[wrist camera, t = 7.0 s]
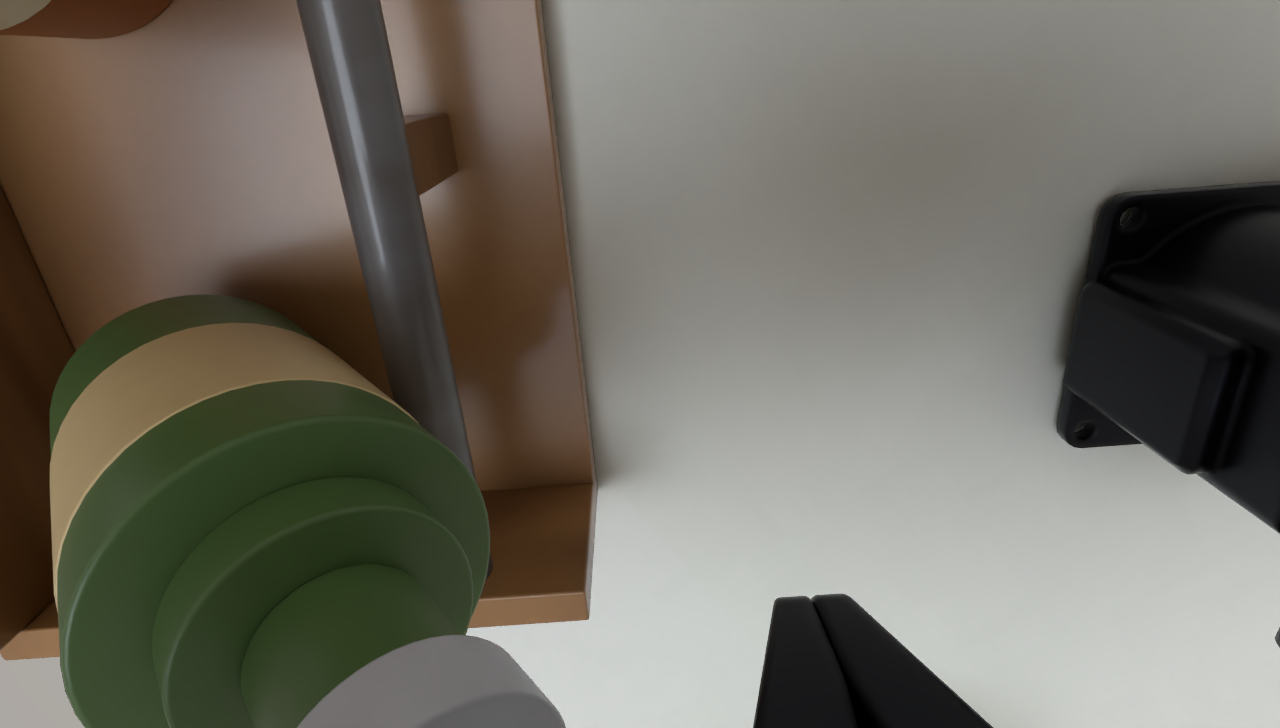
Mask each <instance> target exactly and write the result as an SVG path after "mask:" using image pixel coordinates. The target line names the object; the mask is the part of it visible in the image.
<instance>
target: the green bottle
mask: <svg viewBox="0 0 1280 728" xmlns="http://www.w3.org/2000/svg"><path fill="white" fill-rule="evenodd" d="M50 449H51V461H50V507H51V533H52V558H53V584H54V597H55V602H56V607H57V612H58V624H59V646H60V666H61V671H62V677H63V682H64V687H65V692H66V694H67V696H68V699H69V701H70V703H71V706H72V708H73V710H74V712H75V715H76V716H77V717H78V719H79V720H80V721H81V723H82V724H83V726H84V727H85V728H565V724H564V721H563V719H562V717H561V715H560V713H559V711H558V710H557V709H556V708H555V706H554V705H553V704H552V703H551V702H550V700H549V699H548V698H547V697H546V696H545V695H544V694H543V692H542V691H541V690H540V689H539V688H538V687H537V686H536V684H535V683H534V682H533V681H532V680H531V679H530V678H529V676H528V675H527V674H526V673H525V672H524V671H523V670H522V668H521V667H520V666H519V665H518V664H517V663H516V662H515V660H514V659H513V658H512V657H511V656H510V655H509V654H508V653H507V652H506V651H505V650H504V649H502V648H501V647H500V646H498V645H496V644H494V643H492V642H491V641H488V640H485V639H481V638H478V637H474V636H466V633H467V629H468V626H469V622H470V619H471V617H472V615H473V613H474V611H475V609H476V606H477V604H478V601H479V598H480V596H481V593H482V590H483V586H484V583H485V579H486V575H487V570H488V563H489V557H490V528H489V520H488V514H487V510H486V506H485V503H484V499H483V496H482V494H481V492H480V489H479V487H478V485H477V483H476V481H475V479H474V477H473V476H472V474H471V473H470V471H469V470H468V468H467V467H466V465H465V464H464V463H463V462H462V461H461V460H460V459H459V458H458V457H457V456H456V455H455V453H454V452H453V451H452V450H450V449H449V448H448V447H447V446H446V445H444V444H443V443H442V442H441V441H439V440H438V439H437V438H436V437H434V436H433V435H432V434H431V433H430V432H428V431H427V430H426V429H425V428H423V427H422V426H421V425H420V424H419V423H418V422H417V421H416V420H415V419H414V418H413V417H412V416H411V415H410V414H409V413H408V412H407V411H405V410H404V409H403V408H402V407H400V406H399V405H398V404H397V403H395V402H394V401H393V400H392V399H390V398H389V397H388V396H387V395H386V394H384V393H383V392H382V391H381V390H379V389H378V388H377V387H376V386H374V385H373V384H372V383H371V382H369V381H368V380H367V379H366V378H364V377H363V376H362V375H361V374H359V373H358V372H357V371H356V370H354V369H353V368H352V367H351V366H350V365H348V364H347V363H346V362H345V361H343V360H342V359H341V358H340V357H338V356H337V355H336V354H334V353H333V352H332V351H330V350H329V349H328V348H326V347H325V346H323V345H321V344H320V343H319V342H317V341H316V340H315V339H314V338H313V337H311V336H310V335H309V334H308V333H306V332H305V331H304V330H303V329H301V328H300V327H299V326H298V325H296V324H295V323H294V322H292V321H291V320H290V319H288V318H287V317H285V316H283V315H282V314H280V313H278V312H277V311H275V310H273V309H270V308H268V307H266V306H263V305H261V304H259V303H255V302H252V301H248V300H245V299H241V298H236V297H230V296H224V295H208V294H202V295H184V296H178V297H172V298H166V299H162V300H159V301H155V302H152V303H148V304H145V305H143V306H140V307H138V308H135V309H133V310H130V311H128V312H126V313H124V314H122V315H121V316H119V317H117V318H115V319H113V320H111V321H110V322H108V323H107V324H106V325H104V326H103V327H101V328H100V329H99V330H97V331H96V332H95V333H93V334H92V335H91V336H90V337H89V338H88V339H87V340H86V341H85V342H84V343H83V344H82V345H81V346H80V347H79V348H78V349H77V351H76V352H75V353H74V354H73V356H72V357H71V358H70V359H69V361H68V362H67V364H66V366H65V367H64V369H63V371H62V373H61V374H60V376H59V378H58V381H57V384H56V386H55V389H54V392H53V395H52V400H51V406H50Z"/></svg>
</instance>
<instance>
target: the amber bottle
mask: <svg viewBox="0 0 1280 728" xmlns="http://www.w3.org/2000/svg"><path fill="white" fill-rule="evenodd" d="M170 2H171V0H0V35H16V36H36V37H56V38H76V39H102V38H111V37H115V36H119V35H123V34H127V33H129V32H131V31H133V30H136V29H138V28H140V27H142V26H144V25H145V24H146V23H148V22H149V21H151V20H152V19H154V18H155V17H156V16H157V15H158V14H159V13H160V12H162V11H163V10H164V9H165V8H166V7H167V6H168V4H169V3H170Z"/></svg>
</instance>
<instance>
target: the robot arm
mask: <svg viewBox="0 0 1280 728" xmlns="http://www.w3.org/2000/svg"><path fill="white" fill-rule="evenodd" d="M1129 208H1131V215H1130V218H1129V220H1127V221H1126V222H1125V223H1124V224H1122V225H1120V218H1121V216H1122V214H1123V213H1124V212H1125V211H1126V210H1127V209H1129ZM1063 382H1064V384H1065V386H1064V392H1063V397H1062V402H1061V407H1060V412H1059V417H1058V422H1057V432H1058V434H1059V435H1060V437H1061V438H1063V439H1064V440H1065V441H1066V442H1067V443H1068V444H1070V445H1072V446H1073V447H1077V448H1088V447H1102V446H1116V445H1130V444H1144V445H1146V446H1147V447H1148V448H1150V449H1151V450H1152V451H1154V452H1155V453H1157V454H1158V455H1159V456H1161V457H1162V458H1163V459H1165V460H1166V461H1167V462H1169V463H1170V464H1172V465H1173V466H1174V467H1176V468H1177V469H1178V470H1180V471H1181V472H1183V473H1186V474H1197V475H1199V476H1200V477H1201V478H1203V479H1204V480H1206V481H1207V482H1208V483H1210V484H1211V485H1213V486H1214V487H1215V488H1217V489H1218V490H1220V491H1221V492H1222V493H1224V494H1225V495H1227V496H1228V497H1229V498H1231V499H1232V500H1234V501H1235V502H1236V503H1238V504H1239V505H1241V506H1242V507H1243V508H1245V509H1246V510H1248V511H1249V512H1250V513H1252V514H1253V515H1254V516H1256V517H1257V518H1259V519H1260V520H1261V521H1263V522H1264V523H1266V524H1267V525H1268V526H1270V527H1271V528H1273V529H1274V530H1275V531H1277V532H1278V533H1280V181H1272V182H1259V183H1246V184H1233V185H1220V186H1206V187H1193V188H1180V189H1167V190H1154V191H1141V192H1128V193H1122V194H1118V195H1115V196H1114V197H1112V198H1111V199H1109V200H1108V201H1107V202H1106V203H1105V204H1104V205H1103V207H1102V208H1101V210H1100V213H1099V216H1098V220H1097V225H1096V230H1095V235H1094V240H1093V245H1092V250H1091V255H1090V260H1089V265H1088V270H1087V275H1086V280H1085V285H1084V288H1083V290H1082V291H1081V293H1080V297H1079V302H1078V308H1077V313H1076V318H1075V323H1074V328H1073V333H1072V338H1071V343H1070V348H1069V353H1068V358H1067V364H1066V369H1065V374H1064V379H1063ZM1083 423H1086V424H1085V426H1084V428H1082V429H1081V430H1080V431H1077V432H1075V431H1076V429H1077V427H1079V426H1080V425H1081V424H1083ZM1275 640H1276V642H1277V644H1278V646H1279V647H1280V628H1279V630H1278V632H1277V634H1276V637H1275ZM753 728H993V727H992V726H991V725H990V724H989V723H987V722H986V721H985V720H984V719H983V718H982V717H981V716H980V715H979V714H978V713H977V712H975V711H974V710H973V709H972V708H971V707H970V706H969V705H968V704H967V703H966V702H964V701H963V700H962V699H961V698H960V697H959V696H958V695H957V694H956V693H955V692H954V691H952V690H951V689H950V688H949V687H948V686H947V685H946V684H945V683H944V682H943V681H942V680H940V679H939V678H938V677H937V676H936V675H935V674H934V673H933V672H932V671H931V670H929V669H928V668H927V667H926V666H925V665H924V664H923V663H922V662H921V661H920V660H919V659H917V658H916V657H915V656H914V655H913V654H912V653H911V652H910V651H909V650H908V649H907V648H905V647H904V646H903V645H902V644H901V643H900V642H899V641H898V640H897V639H896V638H895V637H893V636H892V635H891V634H890V633H889V632H888V631H887V630H886V629H885V628H884V627H882V626H881V625H880V624H879V623H878V622H877V621H876V620H875V619H874V618H873V617H872V616H870V615H869V614H868V613H867V612H866V611H865V610H864V609H863V608H862V607H861V606H860V605H858V604H857V603H856V602H855V601H854V600H853V599H852V598H851V597H849V596H847V595H845V594H828V595H816V596H814V597H813V598H812V599H811V600H810V599H809V598H808V597H806V596H796V597H781V598H777V599H776V600H775V602H774V606H773V612H772V618H771V624H770V630H769V636H768V642H767V648H766V654H765V660H764V666H763V672H762V678H761V684H760V690H759V696H758V702H757V708H756V714H755V720H754V725H753Z"/></svg>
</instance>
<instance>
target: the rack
mask: <svg viewBox="0 0 1280 728" xmlns="http://www.w3.org/2000/svg"><path fill="white" fill-rule="evenodd" d="M202 294H208V295H224V296H230V297H236V298H241V299H245V300H248V301H252V302H255V303H259V304H261V305H263V306H266V307H268V308H270V309H273V310H275V311H277V312H278V313H280V314H282V315H283V316H285V317H287V318H288V319H290V320H291V321H292V322H294V323H295V324H296V325H298V326H299V327H300V328H301V329H303V330H304V331H305V332H306V333H308V334H309V335H310V336H311V337H313V338H314V339H315V340H316V341H317V342H319V343H320V344H321V345H323V346H325V347H326V348H328V349H329V350H330V351H332V352H333V353H334V354H336V355H337V356H338V357H340V358H341V359H342V360H343V361H345V362H346V363H347V364H348V365H350V366H351V367H352V368H353V369H354V370H356V371H357V372H358V373H359V374H361V375H362V376H363V377H364V378H366V379H367V380H368V381H369V382H371V383H372V384H373V385H374V386H376V387H377V388H378V389H379V390H381V391H382V392H383V393H384V394H386V395H387V396H388V397H389V398H390V399H392V400H393V401H394V402H395V403H397V404H398V405H399V406H400V407H402V408H403V409H404V410H405V411H407V412H408V413H409V414H410V415H411V416H412V417H413V418H414V419H415V420H416V421H417V422H418V423H419V424H420V425H421V426H422V427H423V428H425V429H426V430H427V431H428V432H430V433H431V434H432V435H433V436H434V437H436V438H437V439H438V440H439V441H441V442H442V443H443V444H444V445H446V446H447V447H448V448H449V449H450V450H452V451H453V452H454V453H455V455H456V456H457V457H458V458H459V459H460V460H461V461H462V462H463V463H464V464H465V465H466V467H467V468H468V470H469V471H470V473H471V474H472V476H473V477H474V479H475V481H476V483H477V485H478V487H479V489H480V492H481V494H482V496H483V499H484V503H485V506H486V510H487V514H488V520H489V528H490V557H489V563H488V570H487V575H486V579H485V583H484V586H483V590H482V593H481V596H480V598H479V601H478V604H477V606H476V609H475V611H474V613H473V615H472V617H471V619H470V622H469V626H468V628H478V627H492V626H506V625H521V624H535V623H549V622H564V621H578V620H587V619H588V618H589V613H590V598H591V583H592V568H593V553H594V538H595V522H596V506H597V493H598V489H597V480H596V471H595V463H594V454H593V445H592V437H591V428H590V419H589V411H588V402H587V393H586V385H585V376H584V367H583V359H582V350H581V342H580V333H579V324H578V316H577V307H576V298H575V290H574V281H573V272H572V264H571V255H570V246H569V238H568V229H567V220H566V212H565V203H564V195H563V186H562V177H561V169H560V160H559V151H558V143H557V134H556V125H555V117H554V108H553V99H552V91H551V82H550V73H549V65H548V56H547V48H546V39H545V30H544V22H543V13H542V4H541V0H171V2H170V3H169V4H168V6H167V7H166V8H165V9H164V10H163V11H162V12H160V13H159V14H158V15H157V16H156V17H155V18H154V19H152V20H151V21H149V22H148V23H146V24H145V25H144V26H142V27H140V28H138V29H136V30H133V31H131V32H129V33H127V34H123V35H119V36H115V37H111V38H102V39H76V38H56V37H36V36H16V35H0V654H1V655H2V657H3V658H4V659H5V660H18V659H31V658H46V657H60V646H59V624H58V612H57V607H56V602H55V597H54V584H53V558H52V533H51V507H50V461H51V449H50V406H51V400H52V395H53V392H54V389H55V386H56V384H57V381H58V378H59V376H60V374H61V373H62V371H63V369H64V367H65V366H66V364H67V362H68V361H69V359H70V358H71V357H72V356H73V354H74V353H75V352H76V351H77V349H78V348H79V347H80V346H81V345H82V344H83V343H84V342H85V341H86V340H87V339H88V338H89V337H90V336H91V335H92V334H93V333H95V332H96V331H97V330H99V329H100V328H101V327H103V326H104V325H106V324H107V323H108V322H110V321H111V320H113V319H115V318H117V317H119V316H121V315H122V314H124V313H126V312H128V311H130V310H133V309H135V308H138V307H140V306H143V305H145V304H148V303H152V302H155V301H159V300H162V299H166V298H172V297H178V296H184V295H202Z"/></svg>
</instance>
